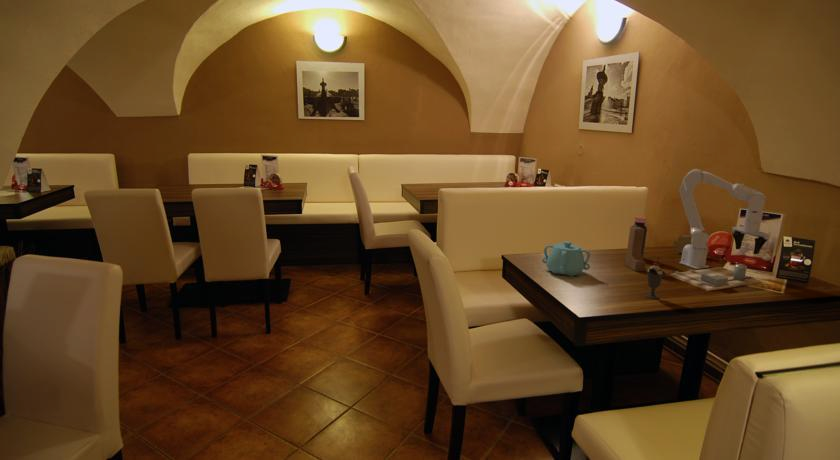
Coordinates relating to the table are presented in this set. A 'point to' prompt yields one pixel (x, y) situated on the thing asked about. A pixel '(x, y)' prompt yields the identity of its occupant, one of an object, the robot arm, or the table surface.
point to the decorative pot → (566, 259)
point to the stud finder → (714, 279)
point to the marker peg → (739, 272)
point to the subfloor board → (695, 276)
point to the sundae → (654, 279)
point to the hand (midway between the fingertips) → (746, 251)
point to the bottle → (641, 222)
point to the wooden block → (635, 249)
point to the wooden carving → (682, 242)
